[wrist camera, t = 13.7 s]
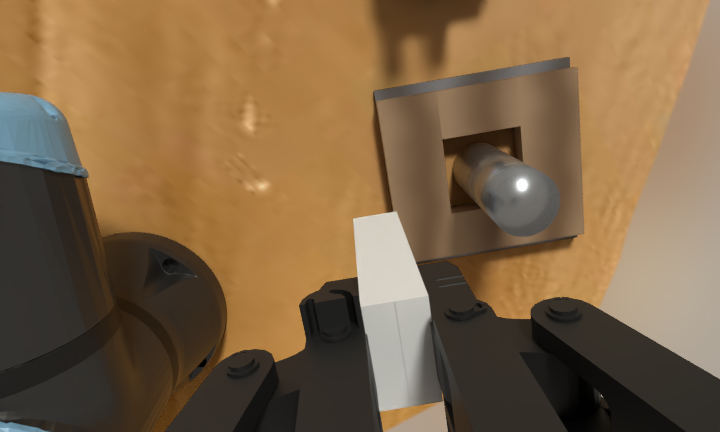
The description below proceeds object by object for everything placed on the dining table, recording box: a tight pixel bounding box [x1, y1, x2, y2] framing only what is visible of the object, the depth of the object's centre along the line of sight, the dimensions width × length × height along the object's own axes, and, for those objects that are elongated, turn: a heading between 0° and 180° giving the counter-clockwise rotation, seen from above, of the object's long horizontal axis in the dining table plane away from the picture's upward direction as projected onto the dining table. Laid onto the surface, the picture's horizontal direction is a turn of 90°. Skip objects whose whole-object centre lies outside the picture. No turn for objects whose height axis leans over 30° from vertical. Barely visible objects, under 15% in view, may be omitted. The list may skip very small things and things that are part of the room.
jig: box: [374, 57, 584, 264], centre depth 42 cm, size 16×16×2 cm
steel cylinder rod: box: [453, 142, 560, 237], centre depth 38 cm, size 4×4×12 cm
